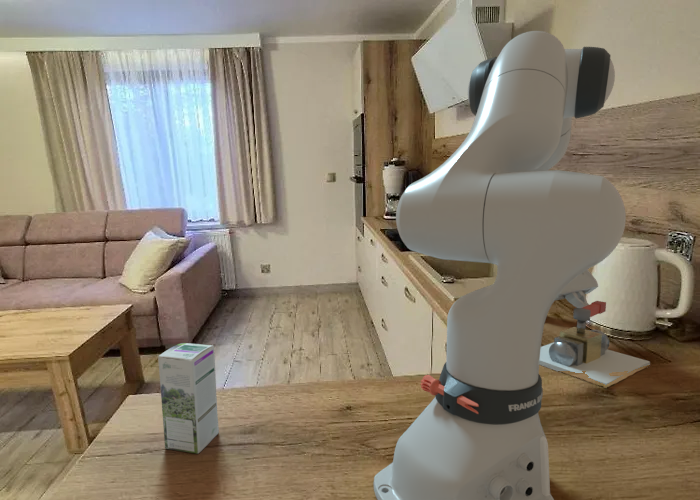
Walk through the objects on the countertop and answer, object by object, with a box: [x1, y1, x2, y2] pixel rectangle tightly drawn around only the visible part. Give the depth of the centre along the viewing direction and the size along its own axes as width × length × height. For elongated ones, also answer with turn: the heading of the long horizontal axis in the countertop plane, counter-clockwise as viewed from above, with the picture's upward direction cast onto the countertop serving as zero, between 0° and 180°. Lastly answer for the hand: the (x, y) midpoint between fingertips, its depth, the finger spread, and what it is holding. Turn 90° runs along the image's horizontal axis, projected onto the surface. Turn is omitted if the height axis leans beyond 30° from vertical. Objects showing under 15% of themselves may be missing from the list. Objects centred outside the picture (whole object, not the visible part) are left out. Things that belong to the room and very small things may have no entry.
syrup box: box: [157, 342, 220, 455], centre depth 59 cm, size 6×6×14 cm
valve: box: [549, 320, 610, 366], centre depth 88 cm, size 15×6×9 cm, turn 123°
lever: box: [572, 300, 607, 322], centre depth 90 cm, size 3×12×2 cm, turn 129°
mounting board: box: [539, 342, 651, 385], centre depth 88 cm, size 19×18×1 cm
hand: (586, 310), depth 93 cm, fingers closed
